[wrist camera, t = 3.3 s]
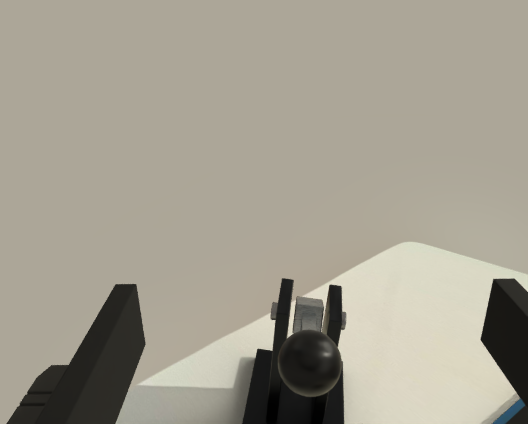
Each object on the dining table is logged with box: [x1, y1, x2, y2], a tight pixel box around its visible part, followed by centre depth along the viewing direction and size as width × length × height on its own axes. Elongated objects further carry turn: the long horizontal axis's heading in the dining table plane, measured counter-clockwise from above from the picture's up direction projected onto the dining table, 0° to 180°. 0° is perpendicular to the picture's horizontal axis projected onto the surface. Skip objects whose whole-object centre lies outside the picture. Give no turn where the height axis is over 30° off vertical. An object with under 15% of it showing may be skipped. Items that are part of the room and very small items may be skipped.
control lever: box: [278, 296, 342, 397], centre depth 30 cm, size 14×4×4 cm, turn 172°
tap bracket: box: [242, 279, 346, 424], centre depth 38 cm, size 12×9×14 cm
